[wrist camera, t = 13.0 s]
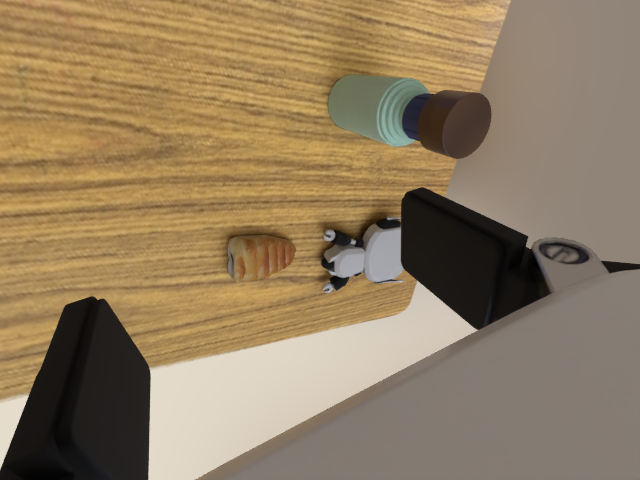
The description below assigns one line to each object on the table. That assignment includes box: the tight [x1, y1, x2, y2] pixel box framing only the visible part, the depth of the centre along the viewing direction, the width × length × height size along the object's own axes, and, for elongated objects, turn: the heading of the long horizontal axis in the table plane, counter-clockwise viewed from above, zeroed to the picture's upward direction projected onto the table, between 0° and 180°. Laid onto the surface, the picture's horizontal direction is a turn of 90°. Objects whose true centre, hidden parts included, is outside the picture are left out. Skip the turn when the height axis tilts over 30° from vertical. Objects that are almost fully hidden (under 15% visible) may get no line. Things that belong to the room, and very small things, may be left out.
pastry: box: [228, 234, 296, 282], centre depth 43 cm, size 9×7×4 cm
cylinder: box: [417, 90, 491, 159], centre depth 26 cm, size 5×5×3 cm
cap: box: [402, 93, 435, 141], centre depth 29 cm, size 4×4×3 cm
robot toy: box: [321, 216, 404, 293], centre depth 50 cm, size 12×4×15 cm
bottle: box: [328, 75, 429, 147], centre depth 34 cm, size 6×6×16 cm
